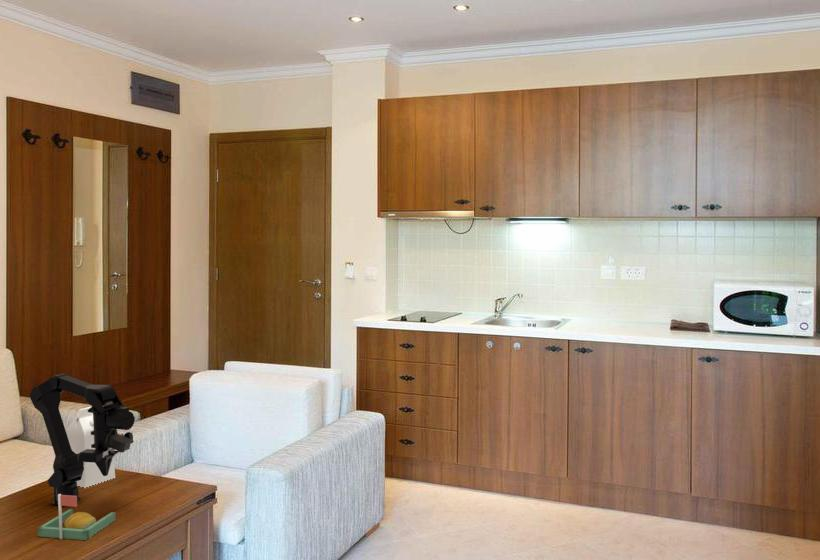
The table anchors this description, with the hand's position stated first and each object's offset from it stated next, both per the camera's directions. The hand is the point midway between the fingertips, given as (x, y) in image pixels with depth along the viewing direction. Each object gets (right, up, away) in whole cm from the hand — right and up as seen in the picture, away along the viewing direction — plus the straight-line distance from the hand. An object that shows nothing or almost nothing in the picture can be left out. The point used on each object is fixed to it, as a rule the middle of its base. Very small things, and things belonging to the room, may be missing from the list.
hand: (105, 475), depth 224 cm
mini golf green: (-2, -12, -12) cm, 17 cm away
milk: (-18, -10, +28) cm, 35 cm away
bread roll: (-3, -12, -12) cm, 17 cm away
